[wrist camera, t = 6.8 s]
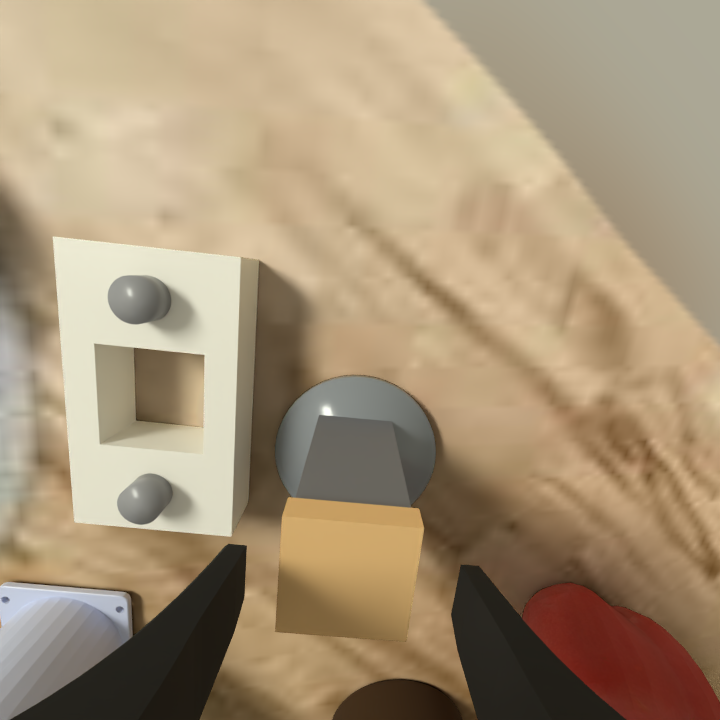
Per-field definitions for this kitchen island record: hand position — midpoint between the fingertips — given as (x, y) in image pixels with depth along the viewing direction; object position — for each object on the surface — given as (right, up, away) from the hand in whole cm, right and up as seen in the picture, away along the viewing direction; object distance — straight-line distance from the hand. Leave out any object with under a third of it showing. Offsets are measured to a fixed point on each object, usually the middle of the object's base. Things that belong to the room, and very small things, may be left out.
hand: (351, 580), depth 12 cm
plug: (0, +2, +8) cm, 9 cm away
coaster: (0, +2, +9) cm, 9 cm away
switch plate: (-10, +6, +8) cm, 14 cm away
